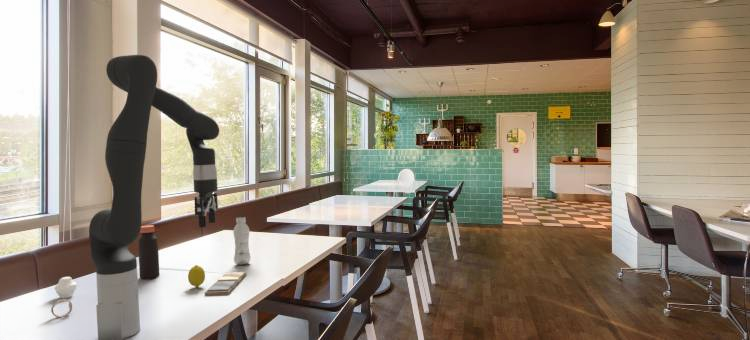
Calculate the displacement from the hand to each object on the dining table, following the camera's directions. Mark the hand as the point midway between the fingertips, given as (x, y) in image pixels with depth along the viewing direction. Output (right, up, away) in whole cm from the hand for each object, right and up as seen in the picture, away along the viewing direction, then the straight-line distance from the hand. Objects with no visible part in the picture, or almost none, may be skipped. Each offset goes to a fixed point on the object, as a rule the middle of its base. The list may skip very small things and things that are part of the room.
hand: (207, 224), depth 143 cm
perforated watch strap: (-36, -25, -19) cm, 48 cm away
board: (+4, -23, +7) cm, 24 cm away
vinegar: (-30, -23, +19) cm, 43 cm away
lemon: (-6, -23, +5) cm, 24 cm away
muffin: (-48, -25, -2) cm, 54 cm away
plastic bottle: (+1, -22, +34) cm, 40 cm away
